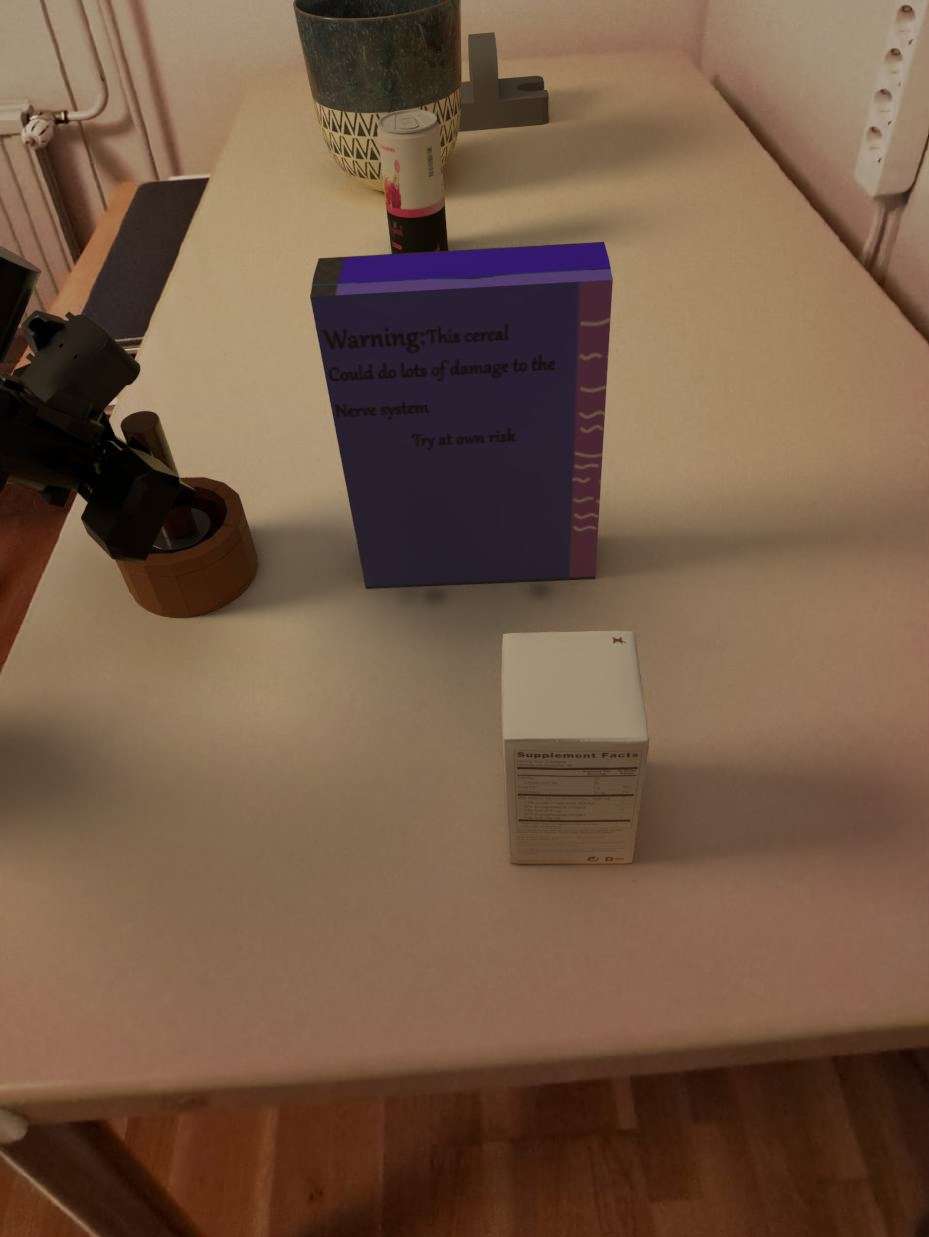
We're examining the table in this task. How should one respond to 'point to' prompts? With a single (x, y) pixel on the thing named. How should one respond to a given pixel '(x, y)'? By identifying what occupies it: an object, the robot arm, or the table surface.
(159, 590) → the bowl
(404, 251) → the beverage can
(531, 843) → the white packaging box
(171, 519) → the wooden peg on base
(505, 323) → the cereal box
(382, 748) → the table surface
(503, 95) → the bracket
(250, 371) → the table surface
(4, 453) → the robot arm
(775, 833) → the table surface
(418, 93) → the planter
